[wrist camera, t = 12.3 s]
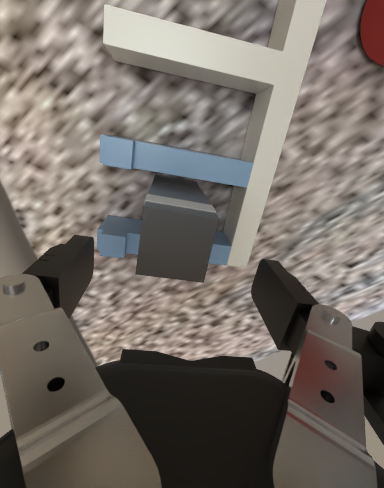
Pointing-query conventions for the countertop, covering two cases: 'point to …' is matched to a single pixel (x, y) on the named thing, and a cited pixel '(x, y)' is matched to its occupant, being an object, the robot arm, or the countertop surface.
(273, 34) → the duct comb
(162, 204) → the grey trapezoid block
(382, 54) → the beer can
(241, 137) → the countertop surface
